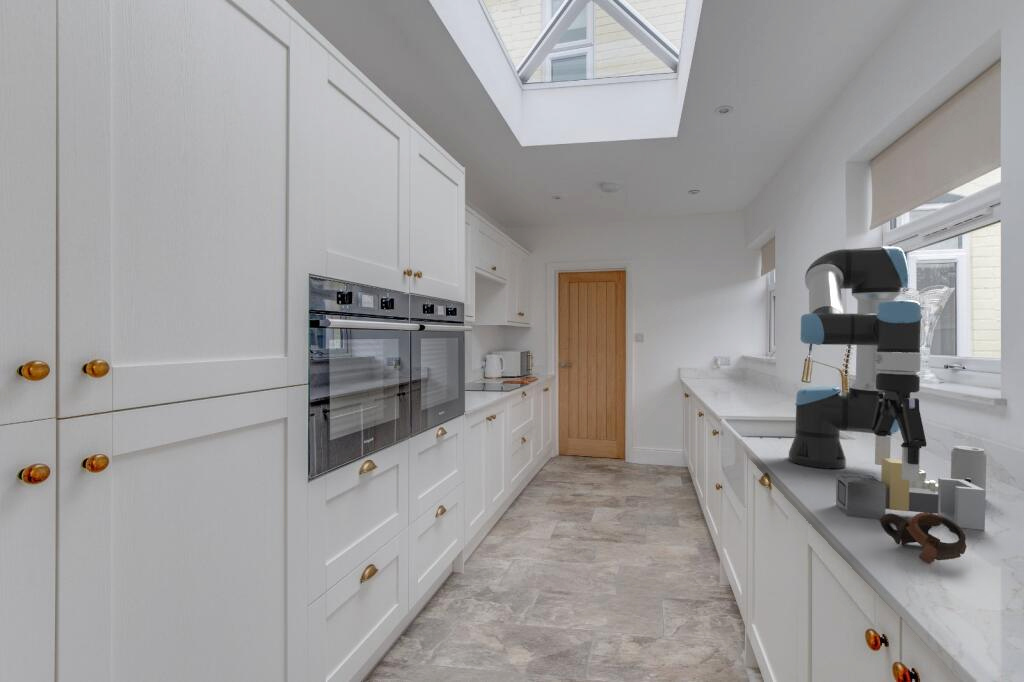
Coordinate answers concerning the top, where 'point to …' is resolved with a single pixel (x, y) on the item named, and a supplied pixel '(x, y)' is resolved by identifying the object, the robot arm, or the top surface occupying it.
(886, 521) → the rusty metal ring bracket
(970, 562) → the top surface
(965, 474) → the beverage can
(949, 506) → the socket
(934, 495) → the two-tone stepped block
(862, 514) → the gray block
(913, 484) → the valve
